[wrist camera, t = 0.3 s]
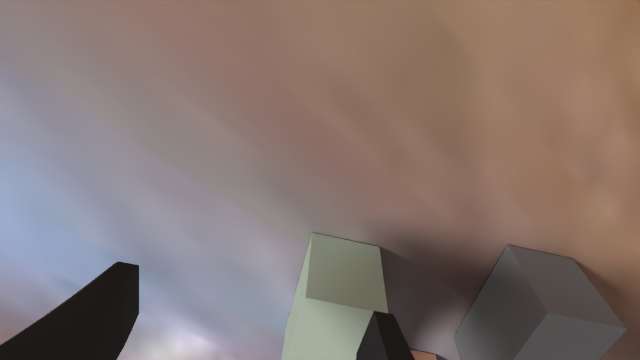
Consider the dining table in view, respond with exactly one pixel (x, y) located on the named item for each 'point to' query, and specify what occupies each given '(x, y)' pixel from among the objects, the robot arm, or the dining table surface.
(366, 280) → the sage block
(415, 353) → the terracotta block
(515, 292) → the charcoal block
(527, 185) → the dining table surface
